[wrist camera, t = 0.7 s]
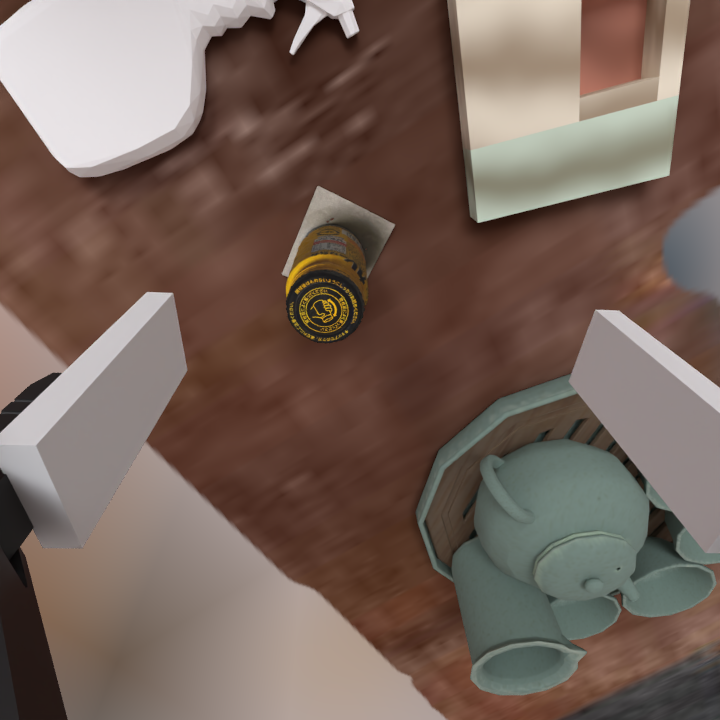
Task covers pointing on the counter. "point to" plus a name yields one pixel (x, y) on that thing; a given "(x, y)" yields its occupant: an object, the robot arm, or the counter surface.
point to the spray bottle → (124, 71)
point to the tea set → (550, 537)
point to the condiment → (332, 267)
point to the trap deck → (564, 97)
